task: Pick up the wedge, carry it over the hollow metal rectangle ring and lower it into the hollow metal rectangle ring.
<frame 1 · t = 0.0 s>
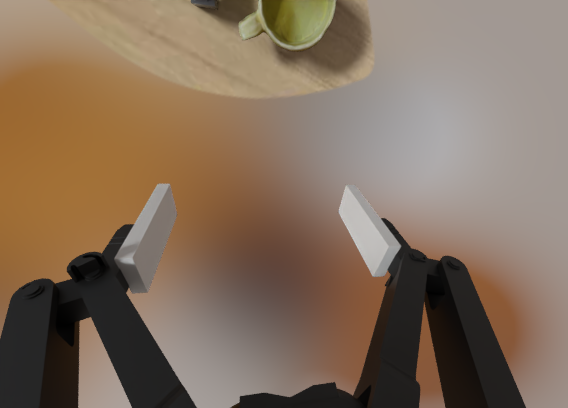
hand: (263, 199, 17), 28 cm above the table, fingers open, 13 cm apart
mug: (278, 12, 33), on the table
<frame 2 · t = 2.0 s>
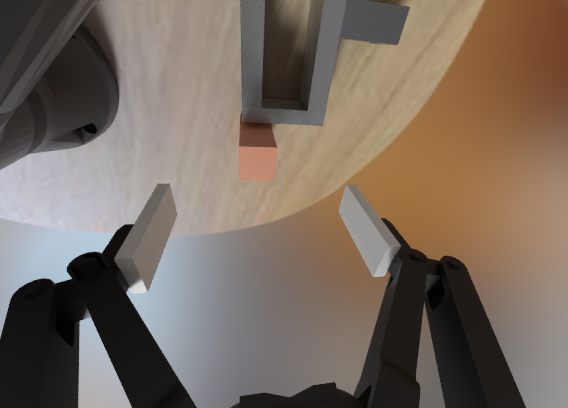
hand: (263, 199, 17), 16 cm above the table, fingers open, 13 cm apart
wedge: (254, 129, 30), on the table
hollow metal rectangle ring: (285, 15, 23), on the table
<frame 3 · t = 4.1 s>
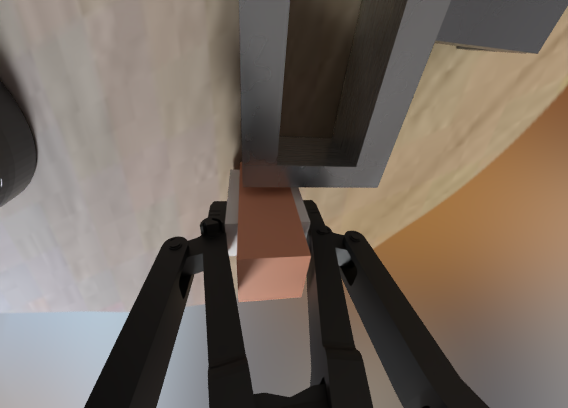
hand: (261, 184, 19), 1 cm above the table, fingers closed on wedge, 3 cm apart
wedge: (261, 180, 19), on the table, touching gripper
hollow metal rectangle ring: (320, 0, 13), on the table
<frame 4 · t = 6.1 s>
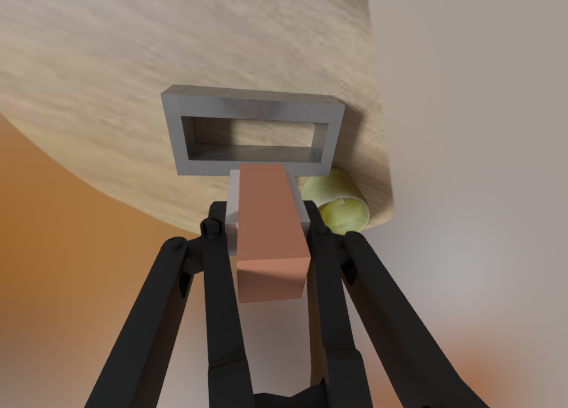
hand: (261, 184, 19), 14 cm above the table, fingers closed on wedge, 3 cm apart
mug: (315, 192, 38), on the table
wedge: (261, 181, 19), point 13 cm above the table, touching gripper
hollow metal rectangle ring: (256, 127, 30), on the table
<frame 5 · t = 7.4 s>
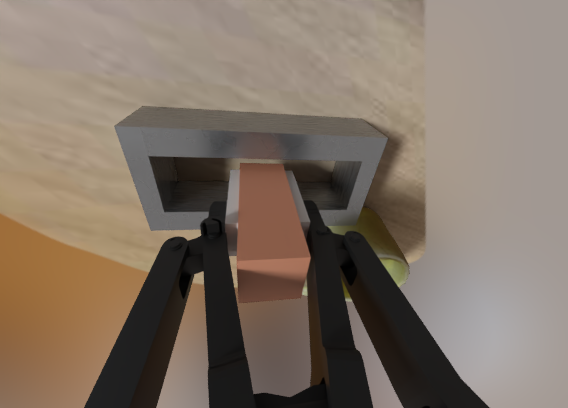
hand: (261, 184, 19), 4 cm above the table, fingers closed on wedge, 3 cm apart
mug: (331, 232, 30), on the table
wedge: (261, 181, 20), point 4 cm above the table, touching gripper
hollow metal rectangle ring: (259, 160, 22), on the table
when the fingers open (2 cm above the table, at t = 8.1 s): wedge stays where it is, resting in hollow metal rectangle ring.
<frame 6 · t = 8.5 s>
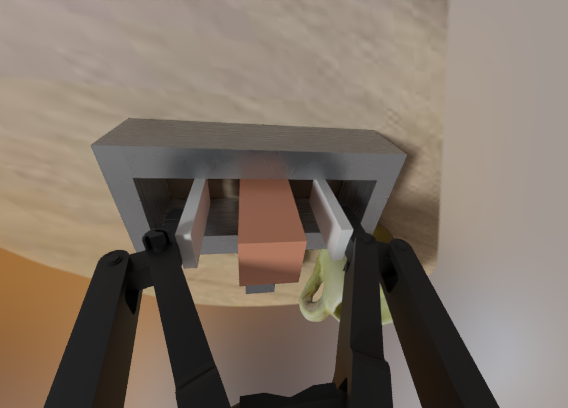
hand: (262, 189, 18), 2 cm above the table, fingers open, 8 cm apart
mug: (337, 248, 28), on the table
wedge: (260, 175, 20), resting in hollow metal rectangle ring
hollow metal rectangle ring: (260, 175, 20), on the table
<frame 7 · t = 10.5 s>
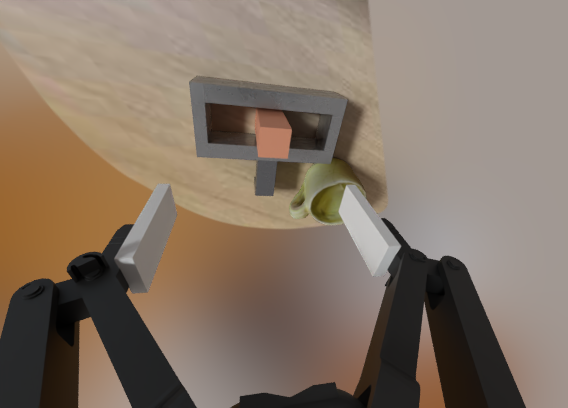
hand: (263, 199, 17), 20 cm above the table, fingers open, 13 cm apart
mug: (316, 181, 41), on the table
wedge: (267, 118, 33), resting in hollow metal rectangle ring
hollow metal rectangle ring: (267, 118, 33), on the table
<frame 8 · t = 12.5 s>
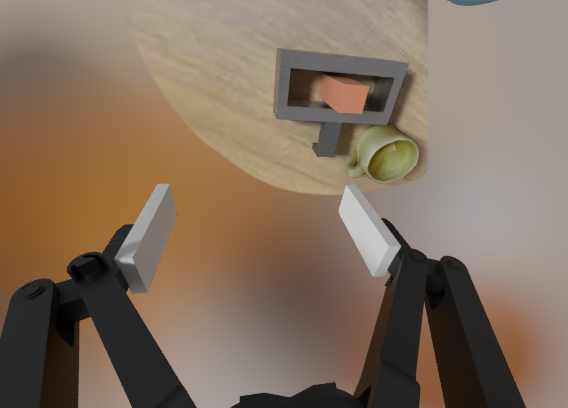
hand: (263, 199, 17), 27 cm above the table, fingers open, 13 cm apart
mug: (365, 146, 46), on the table
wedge: (330, 86, 38), resting in hollow metal rectangle ring
hollow metal rectangle ring: (330, 86, 38), on the table
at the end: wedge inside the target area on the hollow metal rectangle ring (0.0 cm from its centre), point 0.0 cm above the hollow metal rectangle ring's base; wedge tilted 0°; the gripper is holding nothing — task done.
